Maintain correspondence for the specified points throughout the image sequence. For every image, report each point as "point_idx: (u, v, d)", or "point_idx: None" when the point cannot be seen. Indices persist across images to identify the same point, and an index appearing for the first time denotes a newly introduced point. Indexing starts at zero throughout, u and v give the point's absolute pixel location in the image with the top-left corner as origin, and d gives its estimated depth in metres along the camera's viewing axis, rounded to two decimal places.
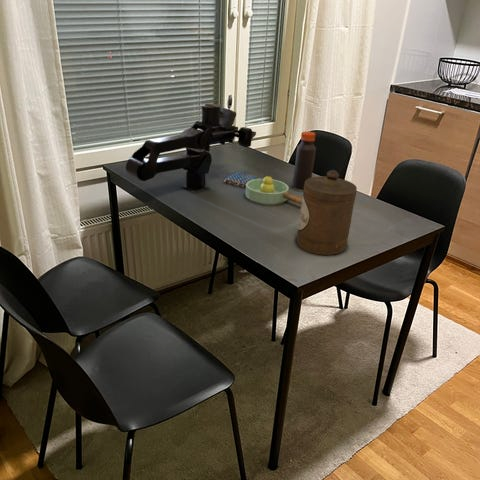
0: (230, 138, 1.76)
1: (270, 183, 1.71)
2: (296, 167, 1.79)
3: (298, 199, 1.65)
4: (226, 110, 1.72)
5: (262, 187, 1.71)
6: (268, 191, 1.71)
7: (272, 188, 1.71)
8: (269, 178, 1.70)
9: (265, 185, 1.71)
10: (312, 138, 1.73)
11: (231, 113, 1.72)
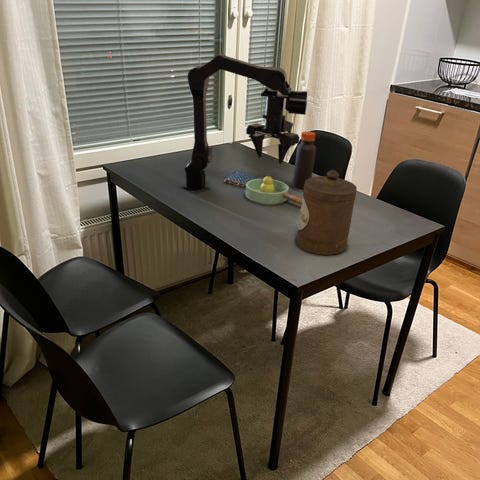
0: (277, 128, 1.59)
1: (270, 183, 1.71)
2: (296, 167, 1.79)
3: (298, 199, 1.65)
4: None
5: (262, 187, 1.71)
6: (268, 191, 1.71)
7: (272, 188, 1.71)
8: (269, 178, 1.70)
9: (265, 185, 1.71)
10: (312, 138, 1.73)
11: (292, 124, 1.65)
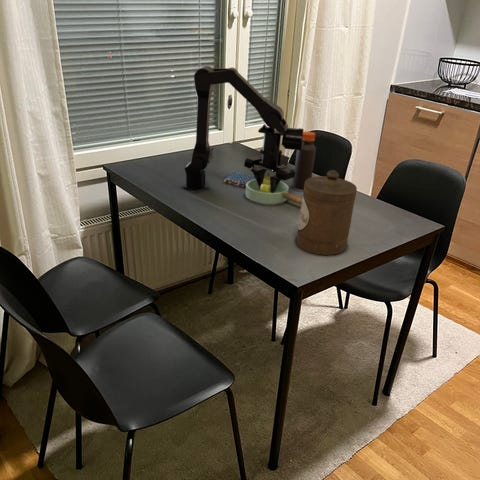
0: (273, 162, 1.65)
1: None
2: (296, 167, 1.79)
3: (298, 199, 1.65)
4: None
5: (262, 187, 1.71)
6: (268, 191, 1.71)
7: None
8: (269, 178, 1.70)
9: (265, 185, 1.71)
10: (312, 138, 1.73)
11: (288, 158, 1.71)
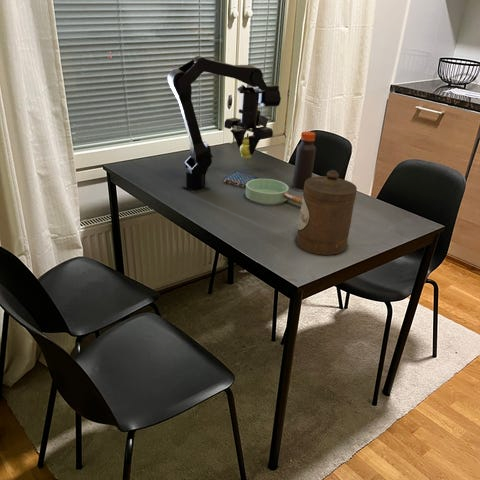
0: (252, 122, 1.69)
1: None
2: (296, 167, 1.79)
3: (298, 199, 1.65)
4: None
5: (241, 147, 1.75)
6: (247, 151, 1.75)
7: None
8: (248, 138, 1.74)
9: (244, 145, 1.75)
10: (312, 138, 1.73)
11: (267, 119, 1.75)
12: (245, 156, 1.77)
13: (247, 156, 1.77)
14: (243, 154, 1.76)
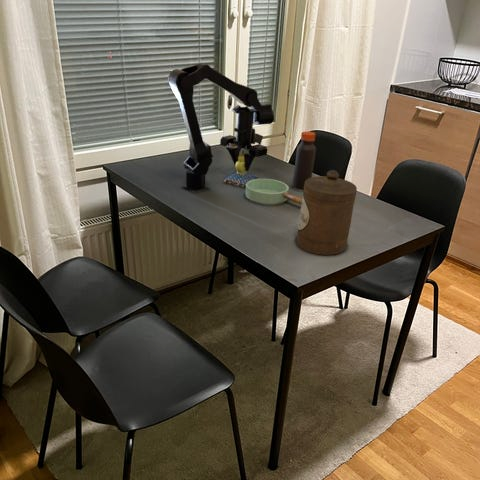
0: (247, 140, 1.75)
1: None
2: (296, 167, 1.79)
3: (298, 199, 1.65)
4: None
5: (237, 164, 1.81)
6: (243, 168, 1.80)
7: None
8: (243, 155, 1.79)
9: (240, 162, 1.80)
10: (312, 138, 1.73)
11: (262, 137, 1.80)
12: (240, 172, 1.82)
13: (242, 172, 1.82)
14: (239, 171, 1.82)
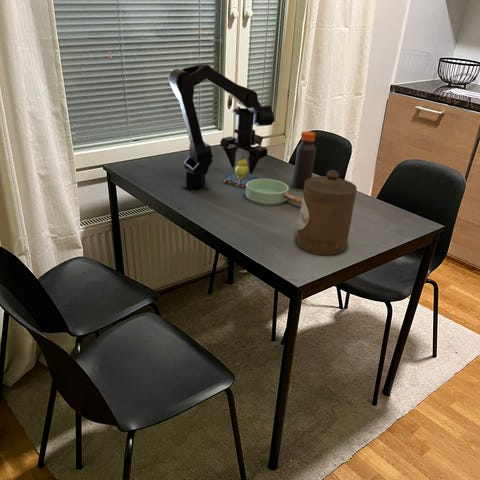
0: (247, 141, 1.75)
1: (244, 165, 1.81)
2: (296, 167, 1.79)
3: (298, 199, 1.65)
4: None
5: (237, 169, 1.82)
6: (242, 172, 1.81)
7: (246, 170, 1.82)
8: (243, 160, 1.80)
9: (240, 167, 1.81)
10: (312, 138, 1.73)
11: (262, 138, 1.80)
12: (240, 177, 1.83)
13: (242, 177, 1.83)
14: (238, 175, 1.83)
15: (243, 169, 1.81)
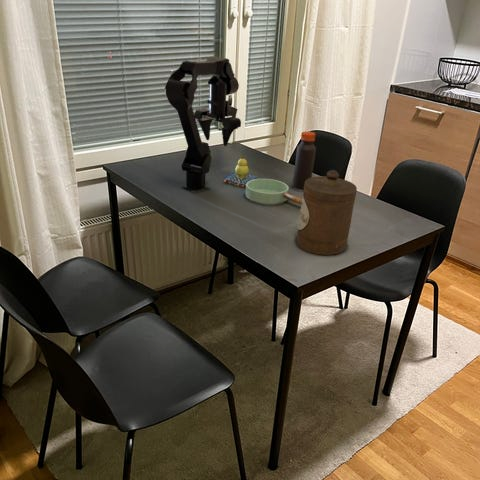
0: (220, 112, 1.73)
1: (244, 165, 1.81)
2: (296, 167, 1.79)
3: (298, 199, 1.65)
4: None
5: (237, 169, 1.82)
6: (242, 172, 1.81)
7: (246, 170, 1.82)
8: (243, 160, 1.80)
9: (240, 167, 1.81)
10: (312, 138, 1.73)
11: (236, 110, 1.78)
12: (240, 177, 1.83)
13: (242, 177, 1.83)
14: (238, 175, 1.83)
15: (243, 169, 1.81)
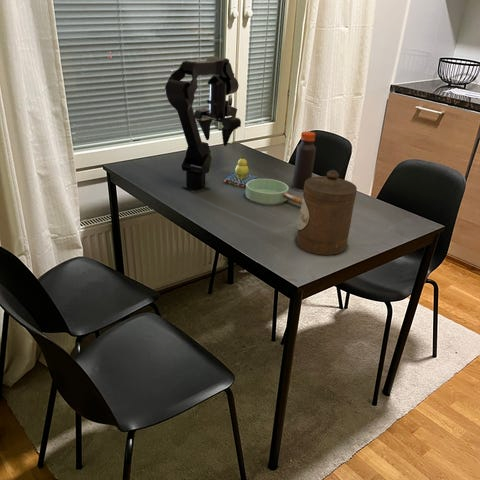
0: (220, 112, 1.73)
1: (244, 165, 1.81)
2: (296, 167, 1.79)
3: (298, 199, 1.65)
4: None
5: (237, 169, 1.82)
6: (242, 172, 1.81)
7: (246, 170, 1.82)
8: (243, 160, 1.80)
9: (240, 167, 1.81)
10: (312, 138, 1.73)
11: (236, 110, 1.78)
12: (240, 177, 1.83)
13: (242, 177, 1.83)
14: (238, 175, 1.83)
15: (243, 169, 1.81)
